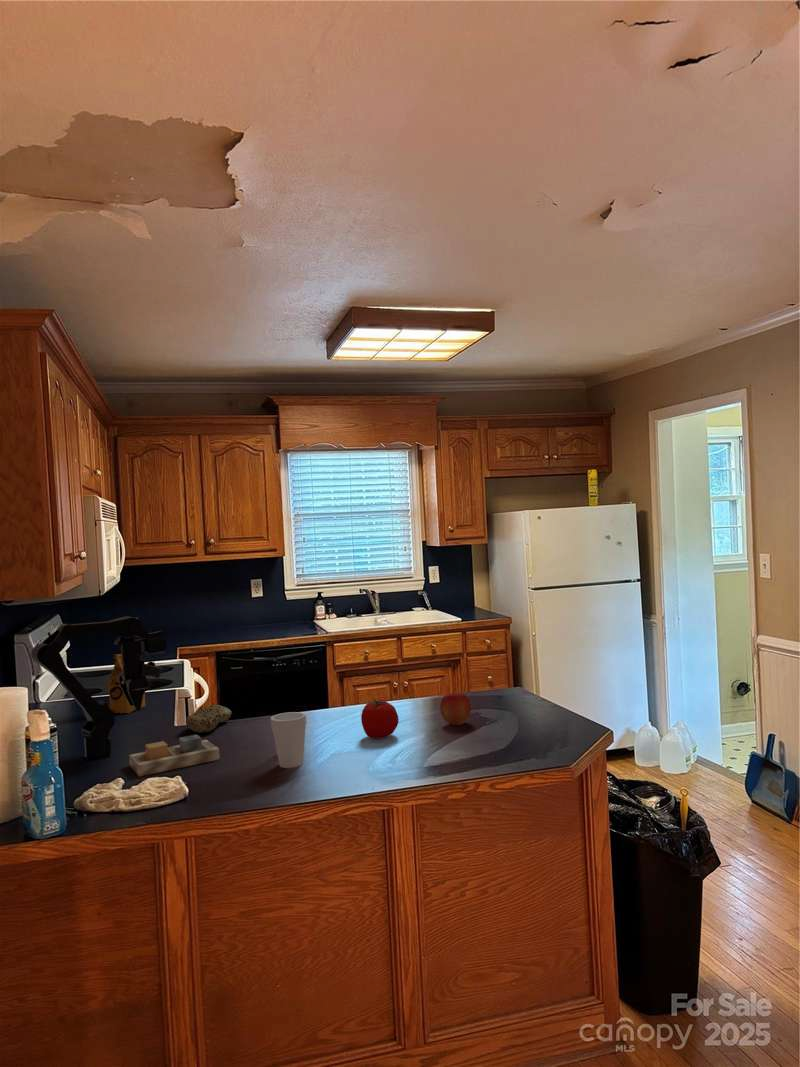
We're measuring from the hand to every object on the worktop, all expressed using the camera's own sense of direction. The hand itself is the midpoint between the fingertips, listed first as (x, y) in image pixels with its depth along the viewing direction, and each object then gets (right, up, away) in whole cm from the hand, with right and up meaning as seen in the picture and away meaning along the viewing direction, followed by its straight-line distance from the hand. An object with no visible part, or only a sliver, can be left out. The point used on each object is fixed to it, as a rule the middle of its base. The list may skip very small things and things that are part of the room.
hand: (135, 708), depth 233 cm
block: (+14, -11, -21) cm, 28 cm away
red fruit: (+76, -7, -7) cm, 76 cm away
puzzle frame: (+18, -11, -19) cm, 28 cm away
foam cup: (+52, -9, -28) cm, 60 cm away
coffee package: (-21, -13, +53) cm, 59 cm away
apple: (+99, -6, +3) cm, 99 cm away
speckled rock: (+18, -11, +18) cm, 28 cm away
